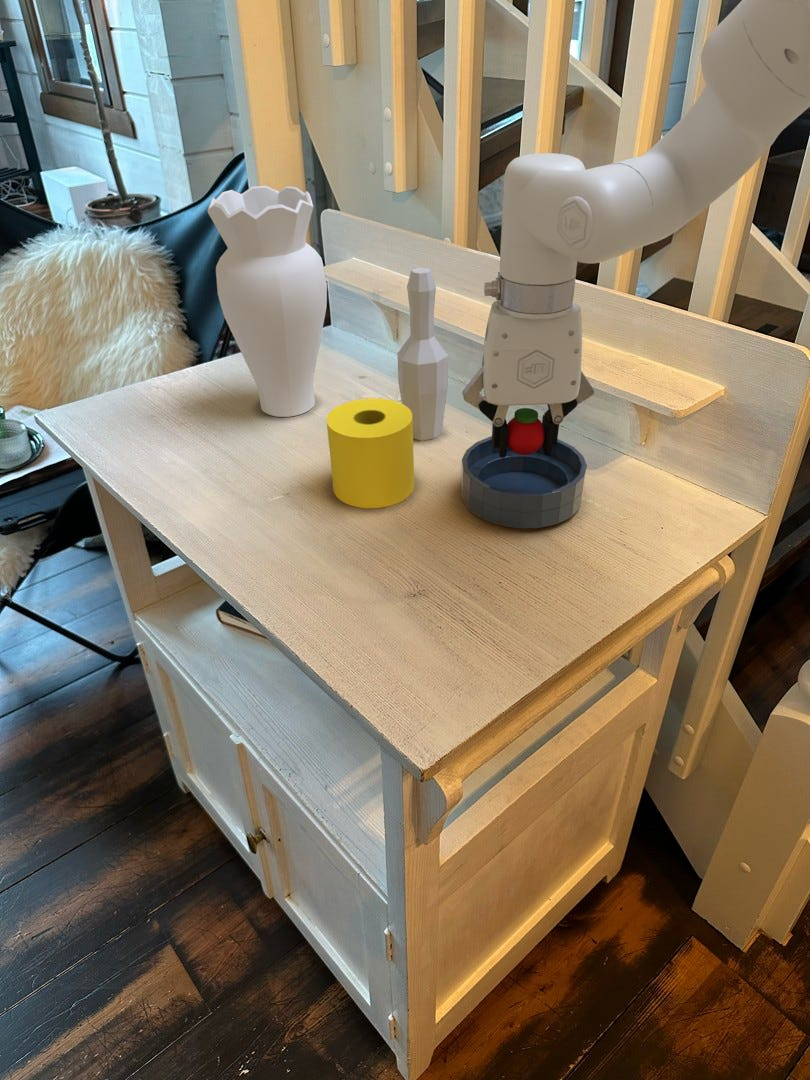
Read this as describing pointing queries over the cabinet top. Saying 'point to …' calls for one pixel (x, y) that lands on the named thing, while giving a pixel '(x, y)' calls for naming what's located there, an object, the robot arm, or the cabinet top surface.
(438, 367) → the faceted bottle
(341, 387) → the cabinet top surface
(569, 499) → the bowl
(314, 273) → the vase
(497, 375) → the robot arm
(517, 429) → the toy tomato
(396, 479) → the yellow toilet paper roll
